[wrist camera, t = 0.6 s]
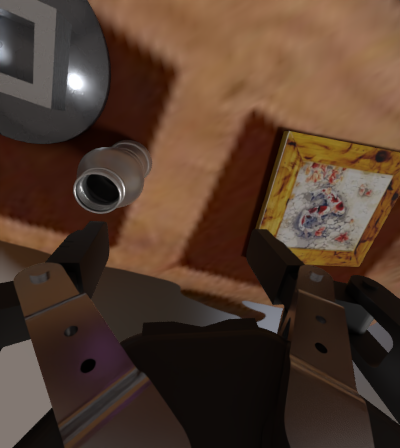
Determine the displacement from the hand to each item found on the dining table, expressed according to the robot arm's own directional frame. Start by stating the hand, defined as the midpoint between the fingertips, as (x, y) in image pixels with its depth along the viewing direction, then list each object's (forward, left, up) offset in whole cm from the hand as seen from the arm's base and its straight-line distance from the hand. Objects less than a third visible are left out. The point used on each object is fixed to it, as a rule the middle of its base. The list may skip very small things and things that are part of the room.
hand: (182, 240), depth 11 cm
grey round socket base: (-8, -22, -27) cm, 36 cm away
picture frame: (-1, +35, -28) cm, 45 cm away
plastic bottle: (+1, -6, -28) cm, 28 cm away
